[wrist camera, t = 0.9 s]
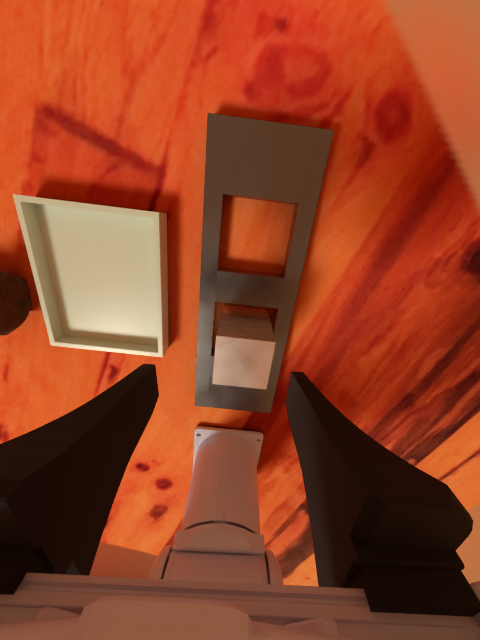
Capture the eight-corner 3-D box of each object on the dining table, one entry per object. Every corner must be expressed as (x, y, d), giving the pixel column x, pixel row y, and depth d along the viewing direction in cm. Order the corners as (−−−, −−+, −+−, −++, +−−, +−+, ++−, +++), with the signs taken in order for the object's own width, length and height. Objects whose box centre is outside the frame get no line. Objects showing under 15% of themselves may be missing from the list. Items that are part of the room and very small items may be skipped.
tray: (168, 347, 22) (162, 357, 21) (65, 336, 22) (51, 345, 20) (166, 213, 18) (158, 212, 16) (34, 196, 17) (12, 194, 16)
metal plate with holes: (269, 404, 25) (270, 413, 24) (196, 397, 25) (194, 405, 24) (327, 136, 15) (333, 130, 14) (210, 120, 15) (207, 112, 14)
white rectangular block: (260, 347, 22) (266, 389, 17) (220, 343, 22) (212, 384, 17) (267, 310, 21) (275, 342, 15) (223, 305, 21) (216, 335, 15)
